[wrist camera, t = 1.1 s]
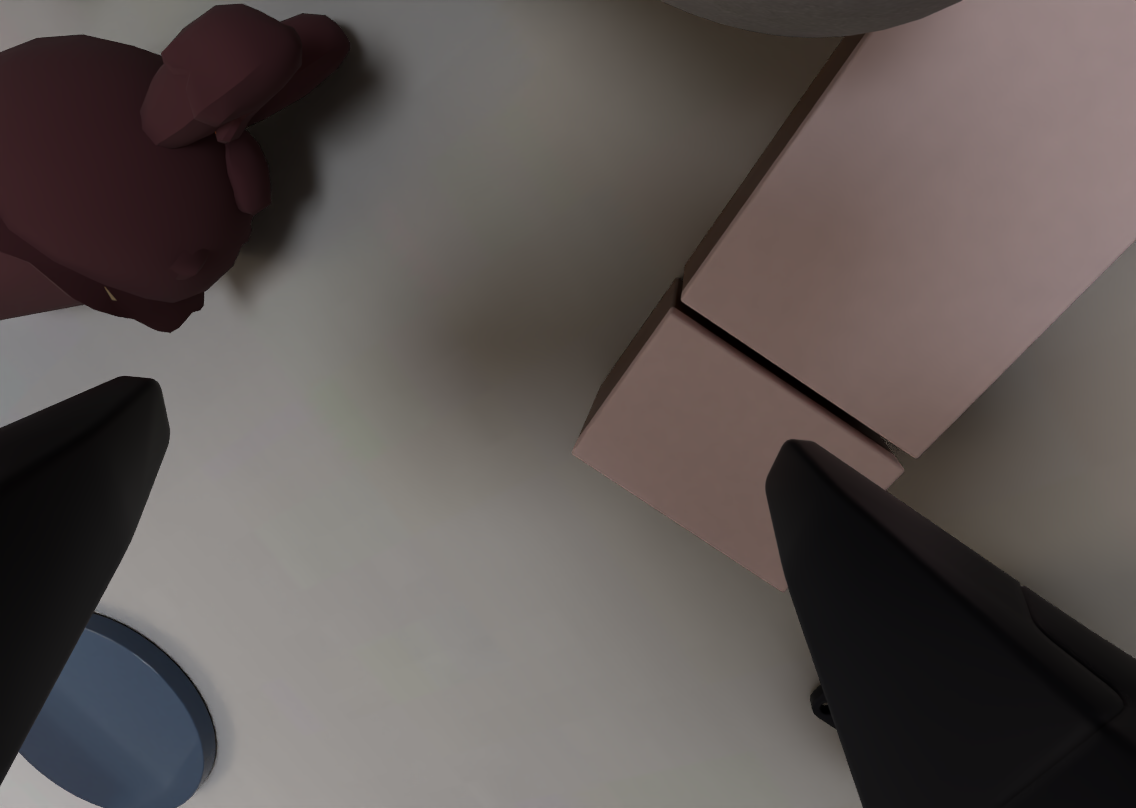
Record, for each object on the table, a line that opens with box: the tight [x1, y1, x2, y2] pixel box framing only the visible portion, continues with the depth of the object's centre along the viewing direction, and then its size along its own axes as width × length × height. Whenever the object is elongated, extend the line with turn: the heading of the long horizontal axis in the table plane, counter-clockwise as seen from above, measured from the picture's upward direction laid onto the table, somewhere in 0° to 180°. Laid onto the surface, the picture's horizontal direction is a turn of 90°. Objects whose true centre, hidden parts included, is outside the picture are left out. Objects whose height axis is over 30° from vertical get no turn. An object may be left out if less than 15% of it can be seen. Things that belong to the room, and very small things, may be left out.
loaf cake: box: [681, 0, 1136, 458], centre depth 14 cm, size 6×10×5 cm, turn 148°
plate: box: [19, 613, 216, 808], centre depth 29 cm, size 11×11×1 cm
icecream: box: [0, 4, 350, 333], centre depth 17 cm, size 7×7×15 cm
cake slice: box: [572, 278, 904, 592], centre depth 16 cm, size 6×4×5 cm, turn 58°
